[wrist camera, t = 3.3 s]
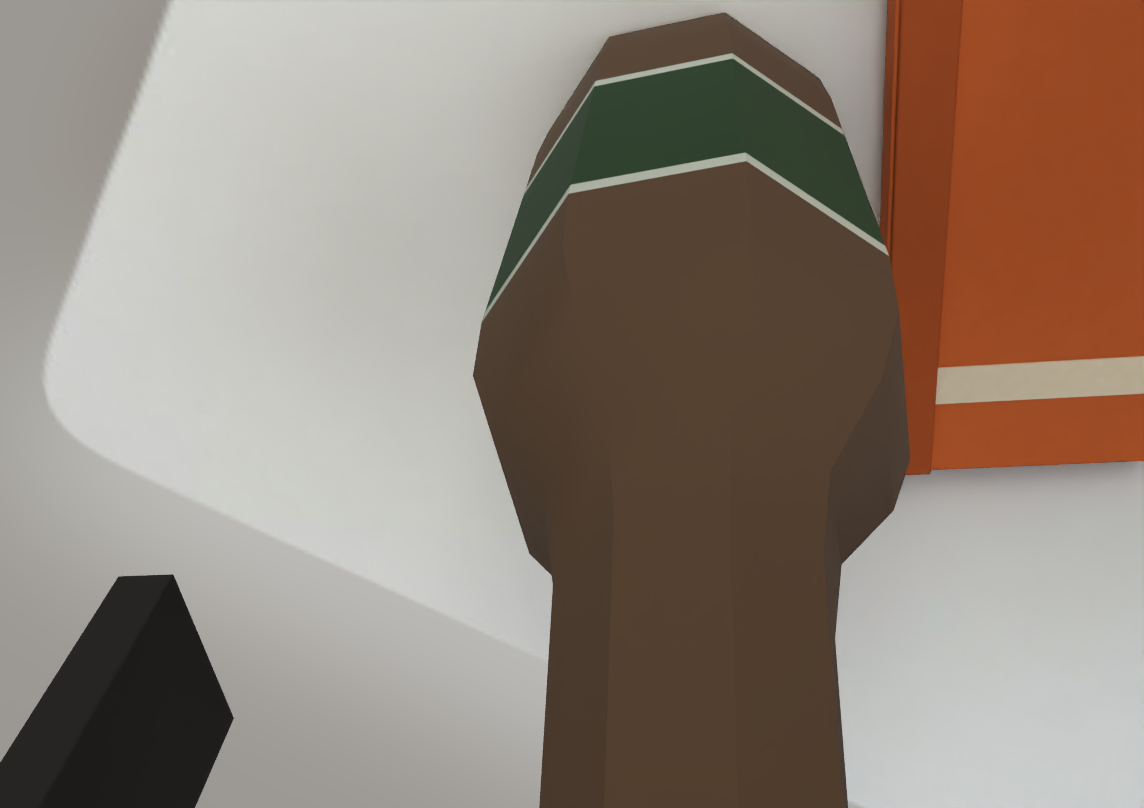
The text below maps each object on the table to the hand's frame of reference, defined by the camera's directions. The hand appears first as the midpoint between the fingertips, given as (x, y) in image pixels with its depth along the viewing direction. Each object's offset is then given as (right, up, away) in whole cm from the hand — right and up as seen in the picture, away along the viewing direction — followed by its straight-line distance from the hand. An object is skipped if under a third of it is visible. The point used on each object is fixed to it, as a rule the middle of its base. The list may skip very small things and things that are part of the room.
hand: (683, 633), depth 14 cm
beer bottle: (+2, +10, +15) cm, 18 cm away
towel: (+11, +10, +14) cm, 20 cm away
